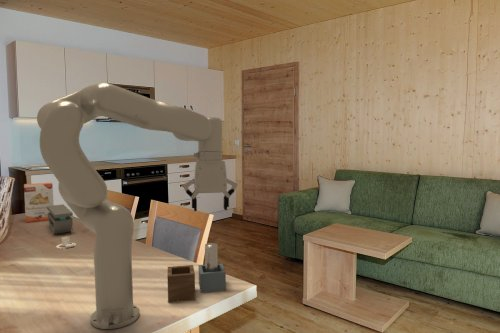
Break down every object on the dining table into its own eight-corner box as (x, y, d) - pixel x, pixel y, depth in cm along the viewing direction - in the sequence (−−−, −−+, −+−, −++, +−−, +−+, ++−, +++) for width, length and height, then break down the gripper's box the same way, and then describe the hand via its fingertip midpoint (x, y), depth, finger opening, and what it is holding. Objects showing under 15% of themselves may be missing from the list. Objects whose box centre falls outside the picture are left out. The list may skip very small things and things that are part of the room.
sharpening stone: (73, 234, 185) (72, 212, 184) (55, 237, 181) (54, 214, 179) (64, 224, 205) (63, 204, 204) (48, 226, 201) (47, 206, 200)
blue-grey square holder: (225, 290, 121) (225, 272, 121) (200, 292, 120) (200, 274, 119) (222, 280, 129) (222, 263, 129) (198, 282, 128) (198, 265, 127)
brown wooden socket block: (195, 299, 115) (194, 274, 114) (168, 302, 113) (167, 276, 112) (193, 289, 122) (193, 265, 122) (168, 291, 121) (167, 266, 120)
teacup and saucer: (75, 248, 165) (75, 239, 164) (55, 250, 162) (54, 241, 161) (76, 243, 173) (76, 234, 173) (57, 245, 170) (56, 236, 170)
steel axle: (218, 288, 123) (218, 246, 122) (206, 289, 122) (205, 246, 121) (217, 283, 127) (216, 242, 125) (205, 284, 126) (204, 243, 125)
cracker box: (25, 223, 208) (23, 185, 206) (26, 220, 213) (23, 183, 211) (54, 220, 215) (52, 183, 213) (54, 217, 220) (52, 182, 218)
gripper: (182, 157, 115) (183, 213, 116) (239, 157, 118) (239, 211, 120) (182, 156, 122) (182, 208, 124) (235, 155, 126) (235, 206, 127)
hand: (210, 209), depth 122 cm, fingers open, 9 cm apart
